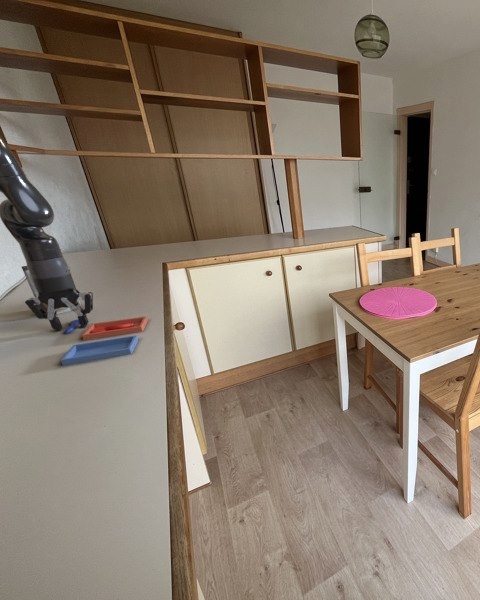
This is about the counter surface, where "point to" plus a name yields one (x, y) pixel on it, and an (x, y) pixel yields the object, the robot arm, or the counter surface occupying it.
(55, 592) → the counter surface
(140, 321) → the red tray
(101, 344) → the blue tray
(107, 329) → the red spoon
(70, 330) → the blue spoon
